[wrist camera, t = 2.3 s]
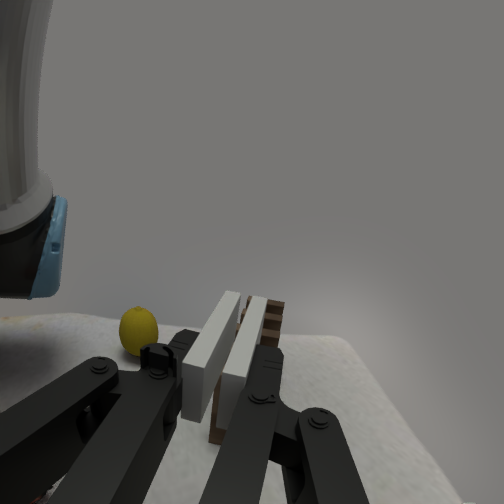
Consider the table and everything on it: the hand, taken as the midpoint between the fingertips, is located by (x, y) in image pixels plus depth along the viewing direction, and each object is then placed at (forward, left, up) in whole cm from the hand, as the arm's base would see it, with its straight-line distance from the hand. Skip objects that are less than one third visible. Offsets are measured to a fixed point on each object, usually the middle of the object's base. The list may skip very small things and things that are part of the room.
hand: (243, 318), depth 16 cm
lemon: (-16, +19, -20) cm, 32 cm away
